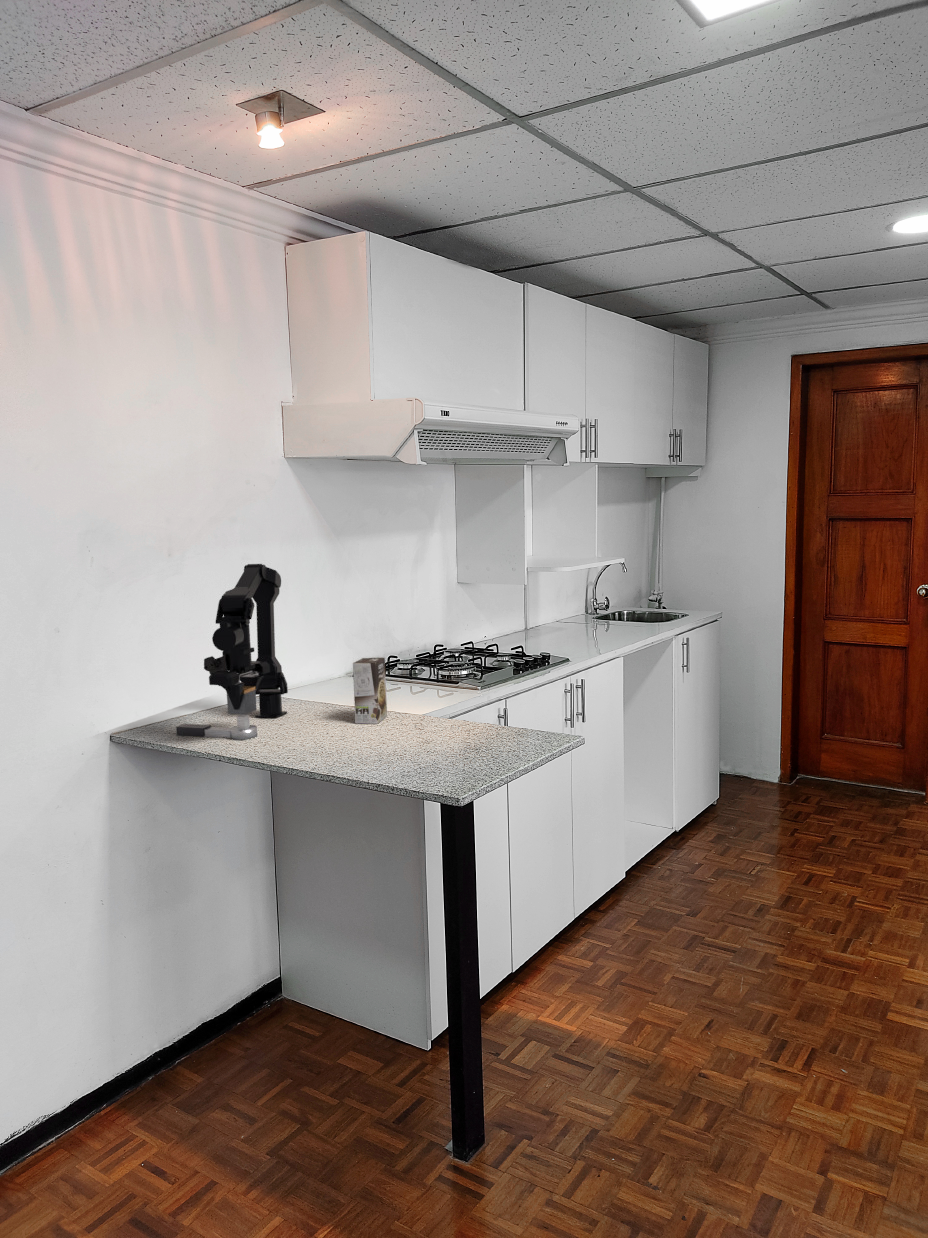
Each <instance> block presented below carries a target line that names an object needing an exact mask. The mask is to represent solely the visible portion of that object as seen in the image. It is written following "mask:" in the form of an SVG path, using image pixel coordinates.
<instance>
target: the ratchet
mask: <svg viewBox="0 0 928 1238" xmlns="http://www.w3.org/2000/svg"><path fill="white" fill-rule="evenodd" d="M175 730H176V731H175V732H176V736H178V737H179V736H180V737H181V736H183V737H184V736H185V737H197V738H198V737H200V738H204V736H205V737H207V738H222V737H225V738H226V737H227V739H231V740H232V739H233V741H246V740H245V739H249V740H252V739H251V738H253V739H255V737H256V738H257V737H258V727H257V725H255V724H250V714H246V715H243V714H238V715H236V725H235V726H232V727H222V726H221V727H217V726H212V725H211V724H198V723H197V724H195V723H194V724H193V723H183V724H180V725H177V726H176V727H175Z"/></svg>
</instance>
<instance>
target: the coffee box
mask: <svg viewBox="0 0 928 1238" xmlns="http://www.w3.org/2000/svg"><path fill="white" fill-rule="evenodd" d="M352 671H353V672H352V673H353V674H352V676H353V696H354V697H353V699H354V722H355V724H369V725H370V724H371V725H378V724H379V723H381V722H382V721H383V720H384V719H386V718H387V717H388V703H387V700H388V699H387V682H386V681H387V680H386V679H387V677H386V658H385V657H362V658H361V659H358V660H356V661H355V662H353V663H352Z"/></svg>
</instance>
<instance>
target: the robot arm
mask: <svg viewBox="0 0 928 1238" xmlns="http://www.w3.org/2000/svg"><path fill="white" fill-rule="evenodd" d="M281 586H282V576H281V574H280V573H279V572H278V571H277V570H276V569H273V568H271V567H267V566H266V564H263V563H248V564H245V565H244V567H243V572H242V574H241V576H240V577H239V579H238V581H237V582H236V584H235V586H234V588H231V589H229V590H227V591H225V593H223V594H222V595H221V597H220V599H219V600H218V604H217V611H216V615H215V616H216V617H215V624H217V625H219V627H218V628H216V630H214V632H213V635H212V636H211V637H212V644H213V646H214V647H215V648H216V649H217V650H220V651H221V652H222V656H219V657H217V658H215V657H214V656H213V655H211V656H208V657H205V658H203V670H204V671H206V672H209V676H208V684H209V685H210V686H218V687H221V688H223V689H224V690H225V691H226V695H227V694H228V696H229V698H230V700H231V703H232V705H233V708H234V709H235V710H238V709H239V707H240V702H241V697H242V692H243V687H244V686H255V692H256V696H257V695H258V701H259V702H258V705H259V706H258V707H259V713H258V714H255V717H256V718H267V719H277V718H279V717H281V716H285V715H286V714H288V711H287V710H286V711H285V710H283V706H282V705H283V703H282V695H283V696H284V695H285V694H288V692H289V689H288V688H289V687H288V682H287V680H286V677H285V674H284V672H282V671H283V670H282V667H283V666H282V665H281V663H280V662H279V661H278V659H277V657H276V642H275V641H276V640H275V638H276V636H275V605H274V604H275V602H276V601H277V599H278V597H279V595H280V588H281ZM255 605H256V606H255ZM255 607H256V609H255ZM254 610H255V611H256V638H257V639H256V640H257V641H256V642H257V645H256V646H257V658H256V660H252V653H254V652H255V647H252V646H251V632H250V631H251V630H250V623H251V622H250V620H252V618H253V613H254Z"/></svg>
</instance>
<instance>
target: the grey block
mask: <svg viewBox="0 0 928 1238" xmlns="http://www.w3.org/2000/svg"><path fill="white" fill-rule="evenodd" d="M226 701H227V714H228V715H250V714H251V713H253V712H256V711H257V695H256V692H255V686H244V687H243V692H242V697H241V702H240V707H239V709H238V710H235V709H234V708H233V705H232V703H231V700H230V698H229V696H228V694H227V693H226Z"/></svg>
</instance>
